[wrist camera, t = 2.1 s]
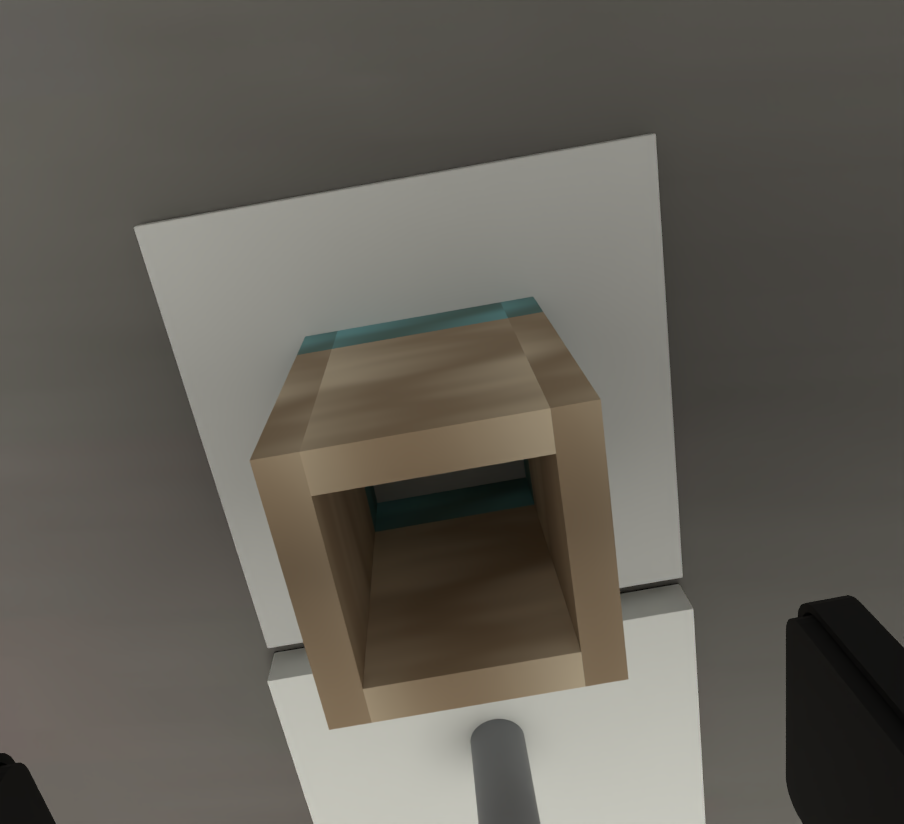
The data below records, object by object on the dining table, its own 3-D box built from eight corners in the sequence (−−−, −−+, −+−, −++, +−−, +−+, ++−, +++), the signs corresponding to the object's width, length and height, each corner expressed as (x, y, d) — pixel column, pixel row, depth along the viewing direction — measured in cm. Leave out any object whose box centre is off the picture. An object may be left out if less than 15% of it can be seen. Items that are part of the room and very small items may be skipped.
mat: (650, 133, 18) (655, 133, 17) (678, 569, 22) (682, 577, 22) (138, 224, 18) (133, 227, 17) (270, 638, 22) (267, 648, 22)
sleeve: (533, 296, 18) (600, 399, 12) (558, 498, 21) (628, 678, 14) (305, 336, 19) (249, 460, 12) (354, 533, 21) (328, 730, 14)
